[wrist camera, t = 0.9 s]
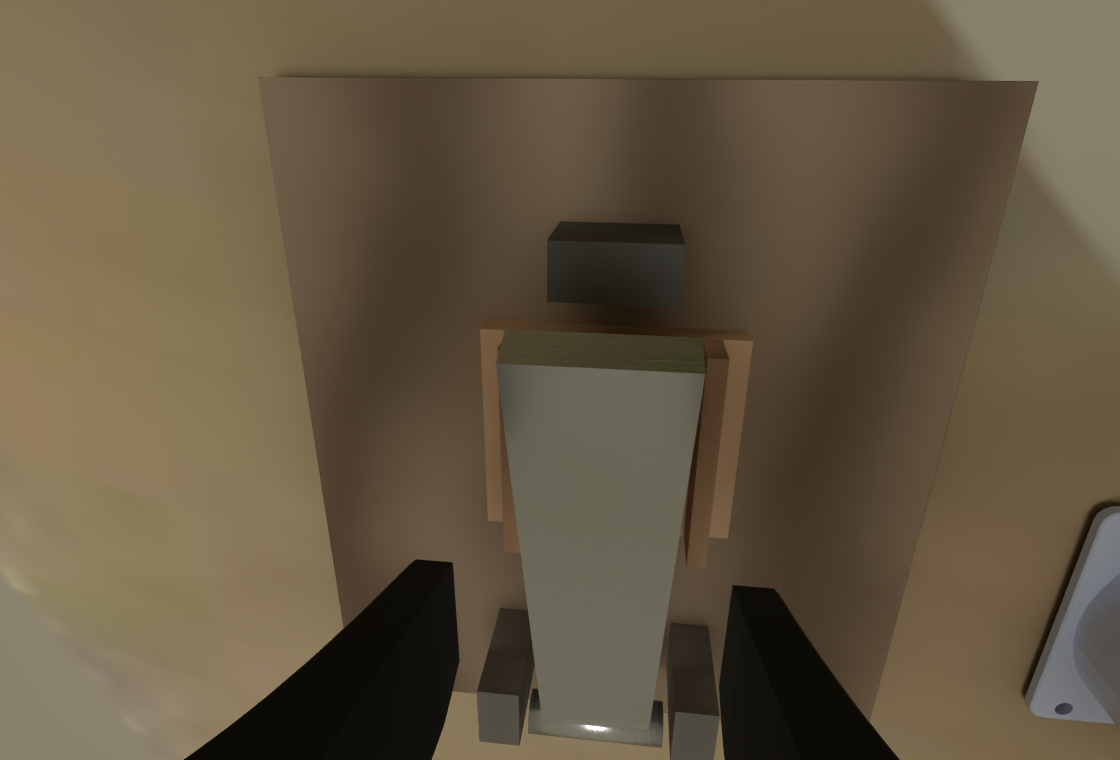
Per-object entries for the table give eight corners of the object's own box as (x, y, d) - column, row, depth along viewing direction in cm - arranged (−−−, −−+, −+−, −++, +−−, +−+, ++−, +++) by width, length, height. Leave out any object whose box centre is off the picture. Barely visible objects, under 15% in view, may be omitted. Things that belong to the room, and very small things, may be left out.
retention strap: (728, 331, 10) (735, 385, 9) (660, 710, 20) (660, 753, 19) (481, 320, 10) (465, 370, 10) (535, 697, 20) (529, 739, 19)
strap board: (1015, 82, 15) (1147, 76, 11) (857, 708, 23) (902, 835, 19) (278, 78, 17) (167, 72, 13) (362, 659, 25) (308, 766, 21)
